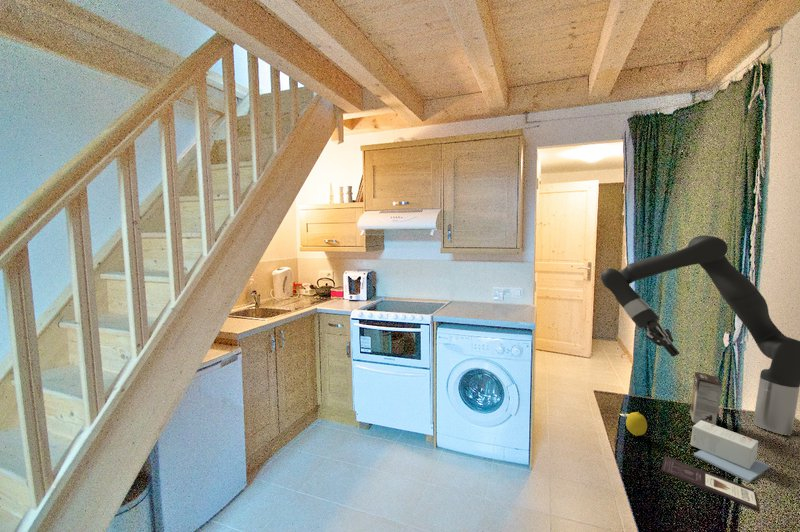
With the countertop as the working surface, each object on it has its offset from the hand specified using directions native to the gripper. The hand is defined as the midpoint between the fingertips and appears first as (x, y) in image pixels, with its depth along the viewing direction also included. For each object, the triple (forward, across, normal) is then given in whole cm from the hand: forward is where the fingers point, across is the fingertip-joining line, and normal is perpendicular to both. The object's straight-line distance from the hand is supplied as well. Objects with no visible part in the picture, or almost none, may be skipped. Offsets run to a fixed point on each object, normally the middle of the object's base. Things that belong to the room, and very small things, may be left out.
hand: (676, 355), depth 116 cm
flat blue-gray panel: (+31, -8, +4) cm, 32 cm away
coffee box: (+20, +14, +15) cm, 29 cm away
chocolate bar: (+31, -27, +4) cm, 41 cm away
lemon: (+17, -22, +17) cm, 32 cm away
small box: (+22, -7, +8) cm, 24 cm away
